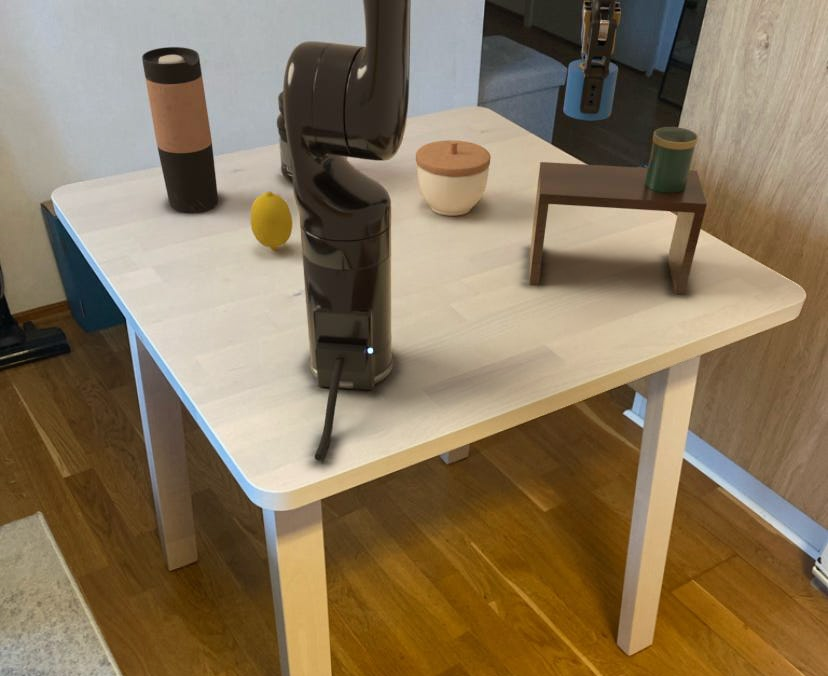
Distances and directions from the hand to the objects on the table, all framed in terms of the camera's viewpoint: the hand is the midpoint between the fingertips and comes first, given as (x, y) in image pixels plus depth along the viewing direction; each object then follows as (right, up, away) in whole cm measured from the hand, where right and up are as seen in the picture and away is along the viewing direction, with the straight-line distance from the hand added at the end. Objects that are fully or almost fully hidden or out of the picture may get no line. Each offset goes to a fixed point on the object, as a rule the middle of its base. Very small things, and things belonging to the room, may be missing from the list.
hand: (588, 103), depth 105 cm
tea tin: (+11, -7, +6) cm, 14 cm away
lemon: (-40, -12, +18) cm, 45 cm away
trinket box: (-15, -2, +28) cm, 32 cm away
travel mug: (-53, -1, +28) cm, 60 cm away
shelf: (+5, -15, +14) cm, 22 cm away
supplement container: (-36, +6, +35) cm, 51 cm away
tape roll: (0, -1, +1) cm, 1 cm away
